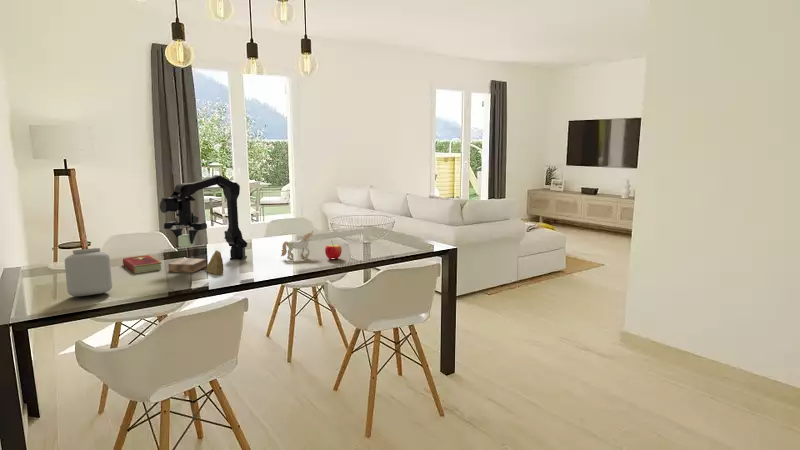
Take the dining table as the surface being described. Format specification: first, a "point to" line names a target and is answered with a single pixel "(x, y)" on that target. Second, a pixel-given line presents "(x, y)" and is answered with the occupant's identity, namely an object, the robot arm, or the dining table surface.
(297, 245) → the unicorn figurine
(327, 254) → the apple
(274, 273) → the dining table surface
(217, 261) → the brown tan chunky block
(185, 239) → the green cube
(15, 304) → the dining table surface
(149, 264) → the hardcover book
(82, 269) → the jar
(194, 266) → the walnut block
